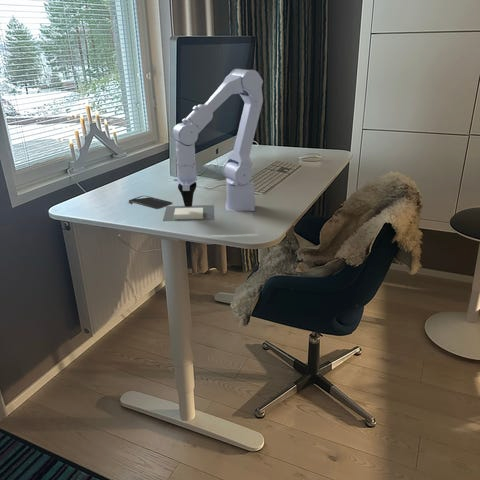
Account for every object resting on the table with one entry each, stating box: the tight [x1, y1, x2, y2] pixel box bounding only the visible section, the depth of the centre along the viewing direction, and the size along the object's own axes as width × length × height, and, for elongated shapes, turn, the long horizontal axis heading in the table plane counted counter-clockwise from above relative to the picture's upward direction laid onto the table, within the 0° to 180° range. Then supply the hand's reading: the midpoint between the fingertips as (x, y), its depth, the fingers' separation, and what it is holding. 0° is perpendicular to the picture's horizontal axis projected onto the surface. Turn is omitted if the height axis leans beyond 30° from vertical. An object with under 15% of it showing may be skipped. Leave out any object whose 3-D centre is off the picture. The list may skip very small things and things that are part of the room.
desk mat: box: [162, 204, 215, 222], centre depth 148 cm, size 16×14×1 cm
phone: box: [128, 195, 173, 210], centre depth 159 cm, size 8×1×15 cm
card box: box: [174, 208, 203, 219], centre depth 145 cm, size 9×2×6 cm
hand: (188, 206), depth 144 cm, fingers closed
